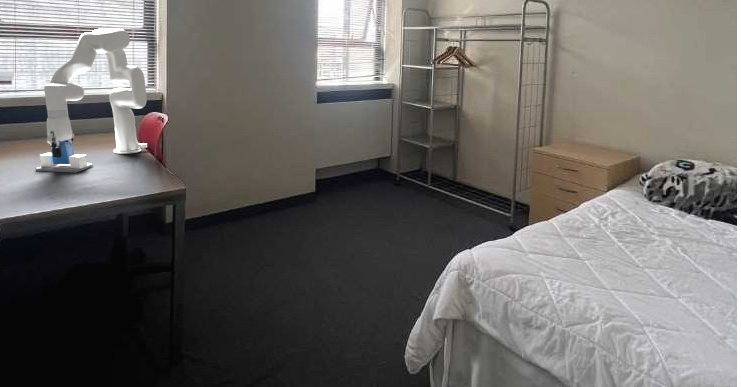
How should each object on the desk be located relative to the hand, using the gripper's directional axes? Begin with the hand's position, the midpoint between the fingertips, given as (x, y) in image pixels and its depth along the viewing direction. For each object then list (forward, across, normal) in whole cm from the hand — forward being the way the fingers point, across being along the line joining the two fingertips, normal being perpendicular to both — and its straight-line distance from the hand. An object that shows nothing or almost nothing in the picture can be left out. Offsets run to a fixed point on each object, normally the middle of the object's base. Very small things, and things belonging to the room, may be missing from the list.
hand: (63, 155), depth 230 cm
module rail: (+6, 0, 0) cm, 6 cm away
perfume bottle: (+4, 0, 0) cm, 4 cm away
